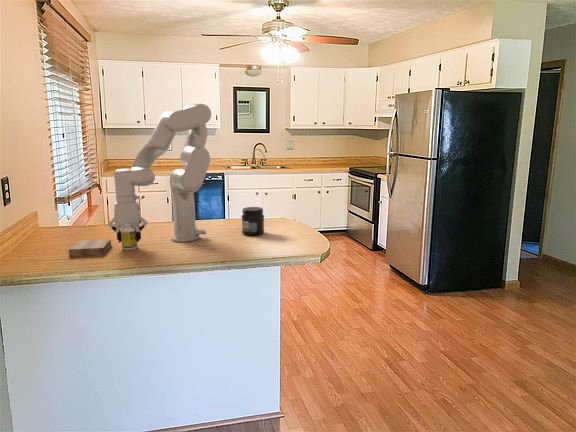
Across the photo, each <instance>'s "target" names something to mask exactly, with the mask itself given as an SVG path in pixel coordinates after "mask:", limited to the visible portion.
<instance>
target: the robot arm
mask: <svg viewBox="0 0 576 432" xmlns="http://www.w3.org/2000/svg"><path fill="white" fill-rule="evenodd" d="M211 119H212V111H211V108H210V106H208V105H206V104H204V103H191V104H187V105H185V106H184V107H183V109H180V110H176V111H175V110H173V111H170V110H169V111H165V112H163V114H161V116H160V118H159V120H158V122H157V123H156V125H155V128H154V129H153V131H152V133H151V136H149V137H150V138H149V139H148V140H147V142H146V144H145V145H144V146H143V147H142V149H140V151H139V152H138V153H137V155H136V157H135V159H134V160H133V162H132V164H131V167H129V168H119V169H115V170H114V172H113V176H114V177H113V178H114V186H115V187H114V188H115V203H114V209H113V210H114V211H113V214H114V215H113V218H112V219H111V220H110V221H109V222H108V223H107V226H108V227H109V228H110V229H112V230H113V232H115V234H116V239H117V241H118V243H122V240H121V229H122V228H123V227H124V226H125V224H129V225H130V226H134V227H135V228H136V231H137V232H136V237H137V243H138V242H140V241H141V239H142V234H141V232H142V230H143V229H144V228H145V227H146V226H147V225H148V223H149V221H148V220H146V219H144V217H142V215H141V209H140V204H139V202H138V201H137V200H140V196H139V195H136V187H149V186H151V185H152V184H153V183H154V182H155V179H156V175H155V172H153V170H152V169H151V166H152V165H153V163H154V162H155V161H156V160H157V159H159V158H160V157H161V156H163V155H164V154H166V153H167V152H168V151H169V149H170V146H171V144H172V142H173V140H174V138H175V136H176V134H177V133H182V132H186V131H187V135H186V139H185V141H184V144H183V146H182V149H181V153H180V156H179V160H180V163H181V164H182V165H183V166H185V168H177V169H174V170H173V171H172V172H171V173H170V174H169V175H170V176H169V188H170V191H171V199H172V214H173V215H172V219H173V233H174V234H173V235H171V236H170V239H171V241H173V242H179V243H187V242H194V241H197V240H199V239H200V235H207V230H206V229H198V228H197V226H196V209H195V208H196V207H195V205H196V204H195V194H194V193H196V192H197V191H199V190H200V189H201V187H202V185H203V183H204V181H205V178H206V175H207V172H208V168H209V167H210V162H211V155H210V153H209V151H208V150H207V149H206V148H205V147H206V146H205V145H206V143H207V140H208V128H207V125H206V124H208V122H210V120H211ZM141 223H142V225H141V226H140V224H141Z"/></svg>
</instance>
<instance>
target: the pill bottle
mask: <svg viewBox="0 0 576 432" xmlns="http://www.w3.org/2000/svg"><path fill="white" fill-rule="evenodd" d="M120 231H121V240H122V241H121V248H122V250H124V251H131V250H135V249H137V248H138V242H137V237H136V232H137V230H136V228H135V227H134V226H130V225H129V224H125V226H124V227H121V229H120Z"/></svg>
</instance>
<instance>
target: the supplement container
mask: <svg viewBox="0 0 576 432" xmlns="http://www.w3.org/2000/svg"><path fill="white" fill-rule="evenodd" d="M263 213H264V209H263V207H259V206H249V207H248V206H247V207H244V208H242V215H241V232H242V234H243V235H244V236H248V237H257V236H261V235H263V234H264V233H265V214H263Z"/></svg>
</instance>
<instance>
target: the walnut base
mask: <svg viewBox="0 0 576 432" xmlns="http://www.w3.org/2000/svg"><path fill="white" fill-rule="evenodd" d="M111 241H112V240H111V239H93V240H92V239H88V240H78V241H76V242H75V243H74V244H73V245H72V246H71V247H69V249H68V256H69V258H71V257H89V256H90V257H91V256H92V257H93V256H94V257H95V256H105V254H107V252H108V251H109V249H110V248H111V247H112V242H111Z"/></svg>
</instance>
